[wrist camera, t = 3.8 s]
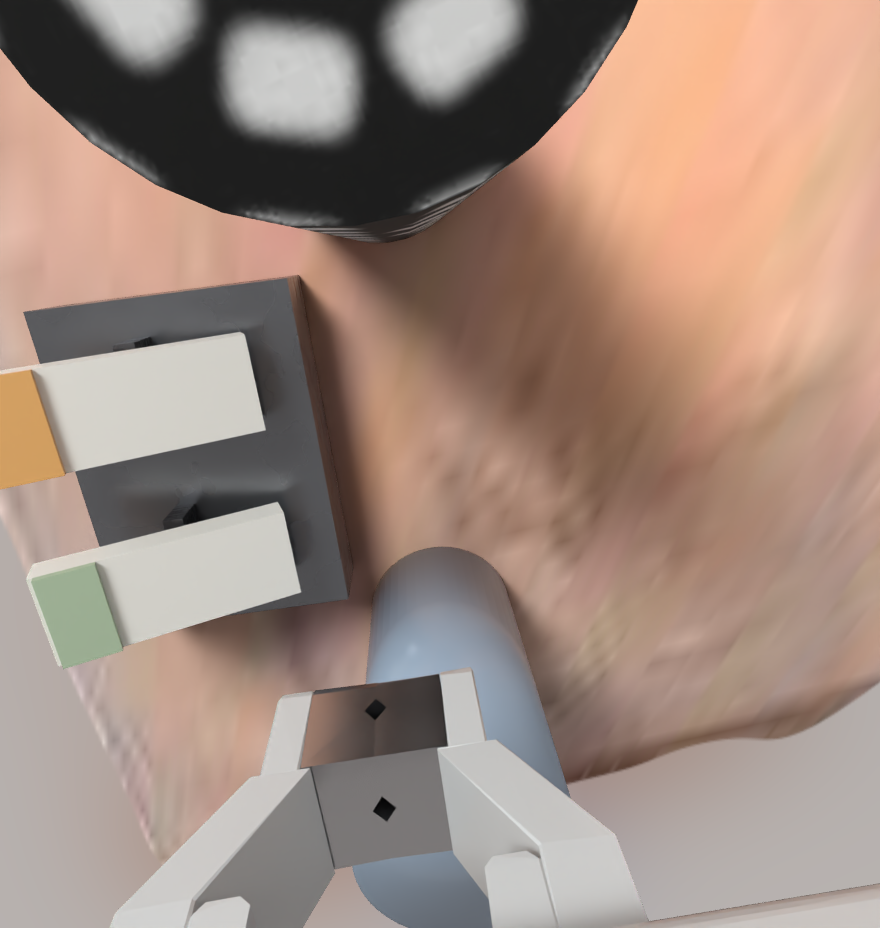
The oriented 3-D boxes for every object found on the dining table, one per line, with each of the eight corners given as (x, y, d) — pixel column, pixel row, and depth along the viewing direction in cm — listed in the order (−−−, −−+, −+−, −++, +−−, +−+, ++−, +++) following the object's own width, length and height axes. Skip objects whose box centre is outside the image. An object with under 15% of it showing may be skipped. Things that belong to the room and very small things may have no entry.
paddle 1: (240, 331, 24) (245, 335, 23) (260, 423, 25) (266, 431, 24) (-36, 376, 21) (-51, 383, 20) (0, 477, 22) (-10, 491, 21)
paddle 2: (277, 501, 26) (284, 515, 25) (294, 578, 28) (302, 595, 26) (32, 563, 23) (24, 583, 22) (63, 647, 25) (57, 671, 23)
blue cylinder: (502, 538, 32) (575, 746, 18) (514, 657, 34) (586, 919, 21) (361, 557, 31) (332, 780, 18) (382, 675, 34) (371, 951, 20)
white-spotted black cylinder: (489, 26, 25) (780, -720, 6) (466, 252, 27) (614, 258, 8) (269, -3, 24) (-229, -958, 5) (267, 232, 27) (-66, 190, 8)
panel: (298, 275, 27) (279, 279, 23) (353, 567, 32) (345, 618, 27) (63, 305, 27) (-3, 316, 23) (151, 595, 31) (111, 650, 27)
